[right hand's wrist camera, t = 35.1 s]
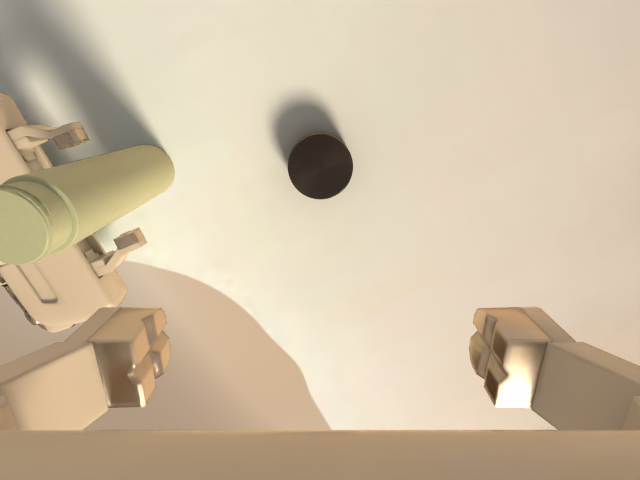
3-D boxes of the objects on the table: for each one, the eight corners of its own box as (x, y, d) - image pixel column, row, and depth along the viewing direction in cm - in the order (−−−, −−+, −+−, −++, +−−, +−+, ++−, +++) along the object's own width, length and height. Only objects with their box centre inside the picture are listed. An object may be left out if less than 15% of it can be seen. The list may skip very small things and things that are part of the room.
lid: (329, 204, 38) (330, 210, 36) (278, 173, 37) (276, 178, 35) (362, 153, 36) (365, 156, 34) (310, 119, 35) (309, 120, 33)
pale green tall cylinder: (160, 203, 38) (32, 286, 21) (115, 175, 37) (-55, 237, 20) (183, 164, 37) (68, 219, 20) (138, 133, 36) (-23, 164, 19)
